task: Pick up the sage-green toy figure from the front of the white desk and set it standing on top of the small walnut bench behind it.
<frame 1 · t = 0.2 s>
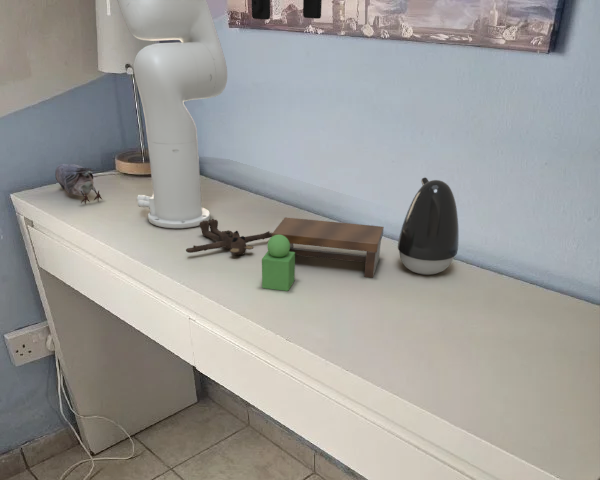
hand: (287, 18, 87), 37 cm above the table, tool pointing down, fingers open, 9 cm apart
pump dispenser: (423, 269, 108), on the table
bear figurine: (225, 246, 116), on the table
bird: (78, 197, 139), on the table
green toy: (278, 284, 101), on the table
bench: (327, 262, 110), on the table
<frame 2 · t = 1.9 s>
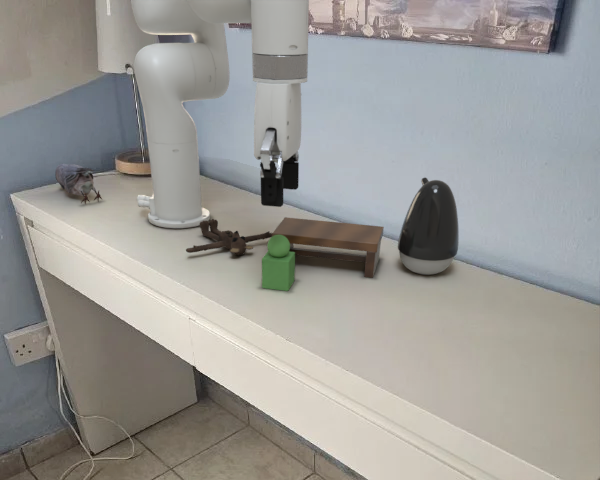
hand: (280, 196, 93), 14 cm above the table, tool pointing down, fingers open, 9 cm apart
nothing on the table moved.
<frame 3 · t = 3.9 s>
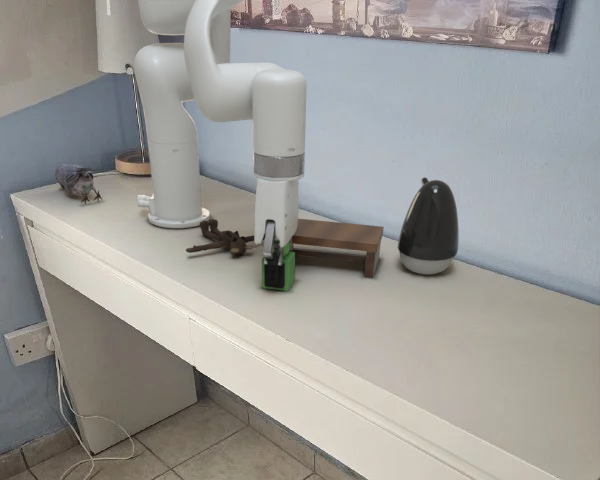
hand: (278, 279, 101), 1 cm above the table, tool pointing down, fingers closed on green toy, 4 cm apart
green toy: (278, 284, 101), on the table, touching gripper
everything else where it was.
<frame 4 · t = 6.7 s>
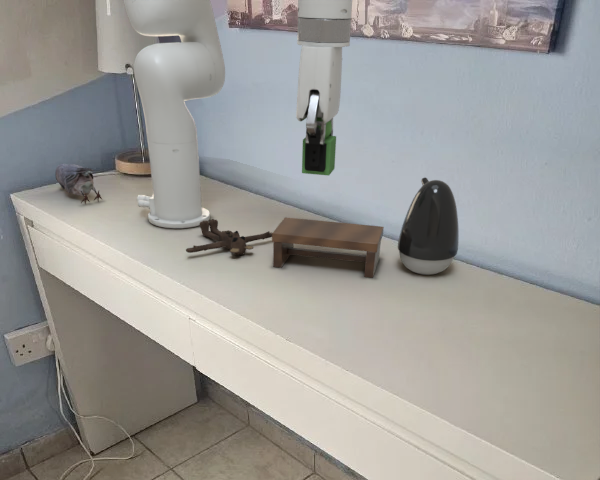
hand: (318, 165, 98), 17 cm above the table, tool pointing down, fingers closed on green toy, 4 cm apart
green toy: (318, 171, 98), point 16 cm above the table, touching gripper
everything else where it was.
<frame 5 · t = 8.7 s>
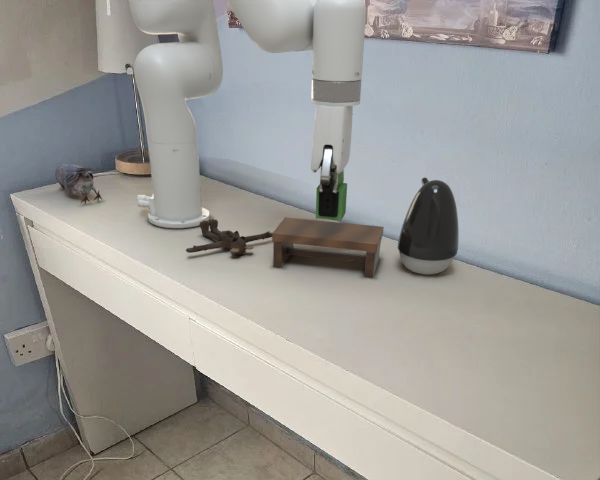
hand: (330, 210, 104), 9 cm above the table, tool pointing down, fingers closed on green toy, 4 cm apart
green toy: (330, 215, 105), point 9 cm above the table, touching gripper
everything else where it was.
when the fingers open (7 cm above the table, at t = 9.8 s): green toy stays where it is, resting on bench.
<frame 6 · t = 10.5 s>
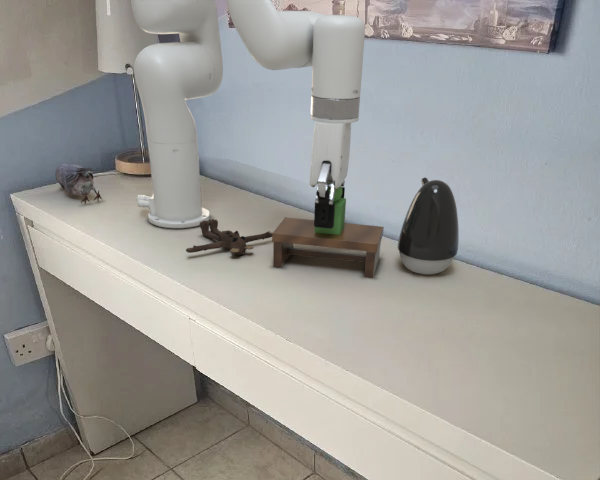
hand: (329, 218, 105), 8 cm above the table, tool pointing down, fingers open, 9 cm apart
green toy: (329, 230, 106), point 6 cm above the table, touching bench
everything else where it was.
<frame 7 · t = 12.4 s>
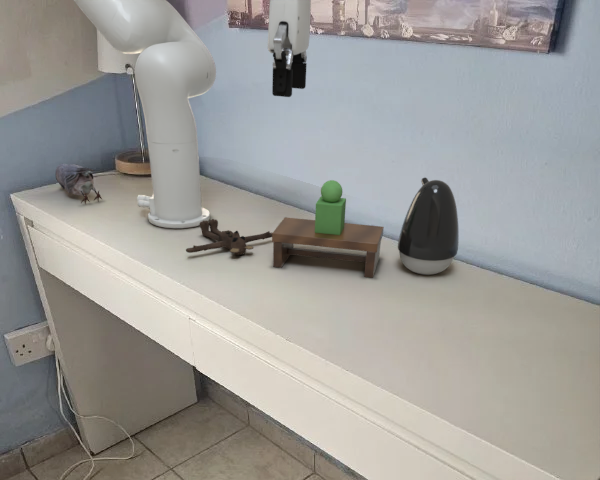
hand: (289, 91, 105), 26 cm above the table, tool pointing down, fingers open, 9 cm apart
nothing on the table moved.
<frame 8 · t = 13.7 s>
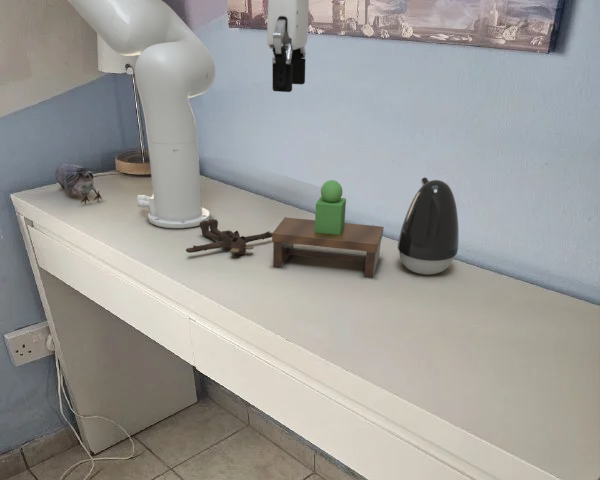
hand: (289, 87, 105), 26 cm above the table, tool pointing down, fingers open, 9 cm apart
nothing on the table moved.
at the end: green toy inside the target area on the bench (0.1 cm from its centre), point 6.0 cm above the bench's base; green toy tilted 0°; green toy touching bench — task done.
